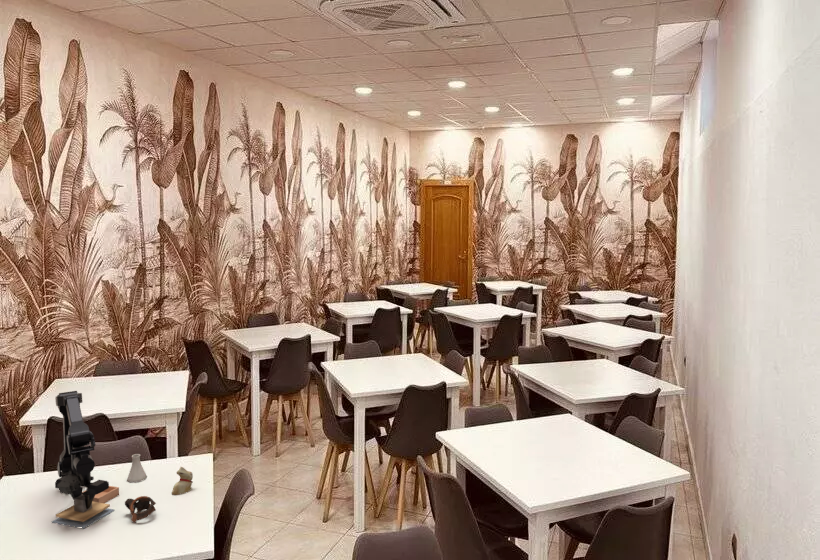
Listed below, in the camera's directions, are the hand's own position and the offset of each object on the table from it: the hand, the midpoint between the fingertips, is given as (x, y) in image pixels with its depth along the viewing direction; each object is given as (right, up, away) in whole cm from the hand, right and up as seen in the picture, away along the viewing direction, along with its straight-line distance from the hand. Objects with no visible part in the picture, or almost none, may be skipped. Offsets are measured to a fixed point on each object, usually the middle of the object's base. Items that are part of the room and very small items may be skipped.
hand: (83, 507), depth 220 cm
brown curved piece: (+20, -4, +1) cm, 20 cm away
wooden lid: (0, -2, 0) cm, 2 cm away
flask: (+5, -1, +32) cm, 32 cm away
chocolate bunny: (+28, -2, +21) cm, 35 cm away
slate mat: (0, -3, 0) cm, 3 cm away
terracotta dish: (-2, -2, +14) cm, 15 cm away
